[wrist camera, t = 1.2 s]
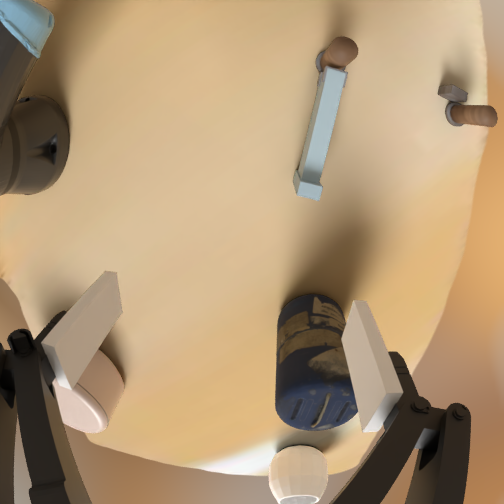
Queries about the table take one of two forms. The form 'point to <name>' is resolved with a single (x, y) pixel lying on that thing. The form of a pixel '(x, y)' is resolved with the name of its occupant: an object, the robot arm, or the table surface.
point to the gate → (319, 133)
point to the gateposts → (456, 113)
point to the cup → (298, 475)
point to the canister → (313, 365)
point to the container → (91, 396)
